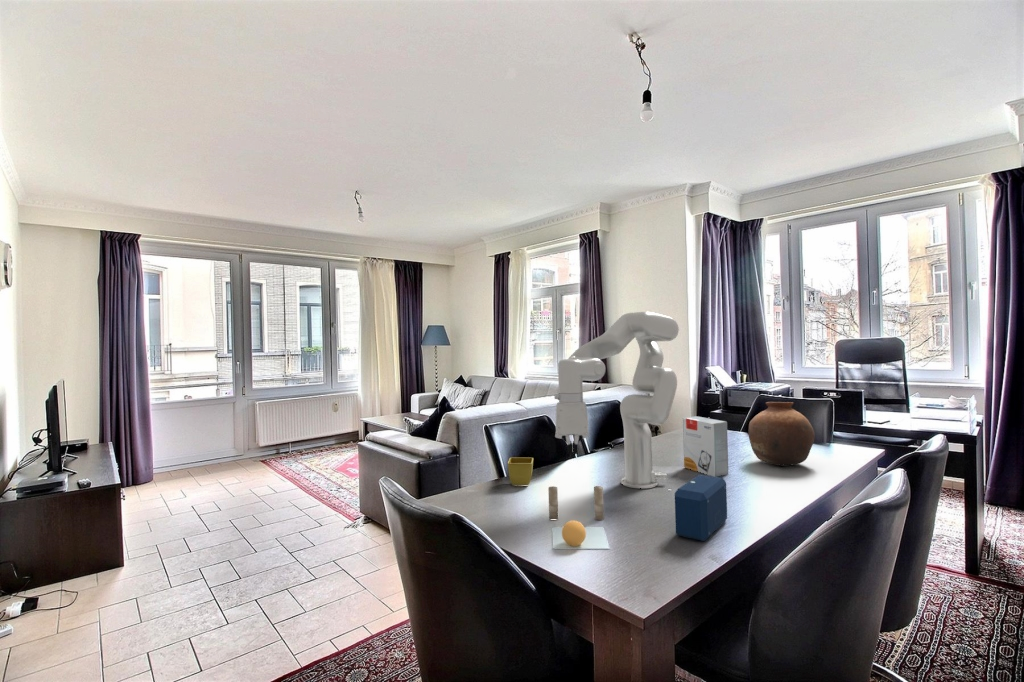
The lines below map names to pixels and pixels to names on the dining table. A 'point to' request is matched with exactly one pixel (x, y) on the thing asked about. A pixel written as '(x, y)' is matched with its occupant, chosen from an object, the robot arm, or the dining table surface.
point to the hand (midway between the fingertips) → (572, 456)
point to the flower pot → (520, 470)
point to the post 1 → (553, 502)
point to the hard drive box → (705, 445)
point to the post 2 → (598, 503)
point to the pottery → (781, 435)
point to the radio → (700, 507)
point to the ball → (573, 533)
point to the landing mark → (592, 540)
